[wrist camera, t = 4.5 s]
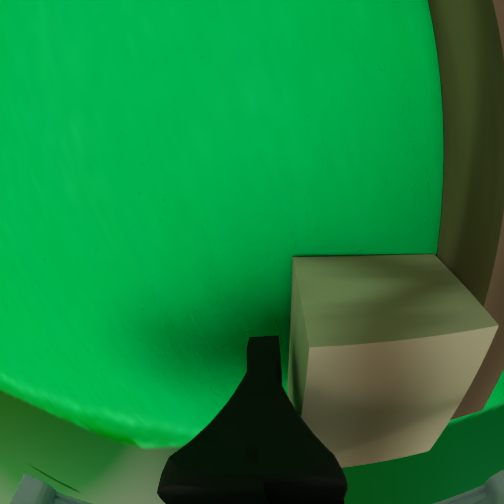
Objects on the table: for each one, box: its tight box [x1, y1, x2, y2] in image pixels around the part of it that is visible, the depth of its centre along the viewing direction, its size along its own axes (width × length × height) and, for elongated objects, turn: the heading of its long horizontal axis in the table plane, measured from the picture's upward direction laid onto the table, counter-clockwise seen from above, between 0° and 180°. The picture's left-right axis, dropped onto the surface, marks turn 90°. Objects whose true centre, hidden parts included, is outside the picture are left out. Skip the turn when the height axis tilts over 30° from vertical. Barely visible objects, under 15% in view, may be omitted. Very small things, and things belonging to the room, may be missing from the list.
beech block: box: [287, 254, 499, 468], centre depth 11 cm, size 6×7×5 cm
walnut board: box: [428, 0, 504, 420], centre depth 8 cm, size 2×20×4 cm, turn 7°
